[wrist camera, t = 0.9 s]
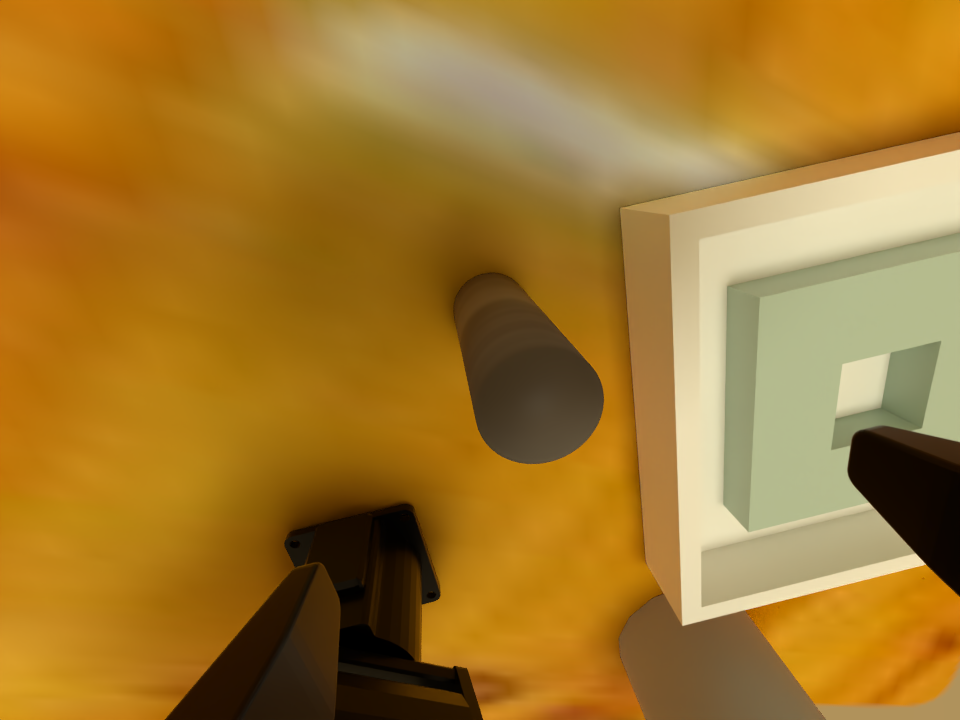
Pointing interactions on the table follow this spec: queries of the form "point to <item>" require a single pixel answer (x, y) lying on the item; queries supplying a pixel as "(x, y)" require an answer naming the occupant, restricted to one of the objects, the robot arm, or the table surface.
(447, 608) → the table surface
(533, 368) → the peg
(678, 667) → the cup
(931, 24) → the table surface
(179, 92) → the table surface
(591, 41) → the table surface
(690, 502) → the tray
